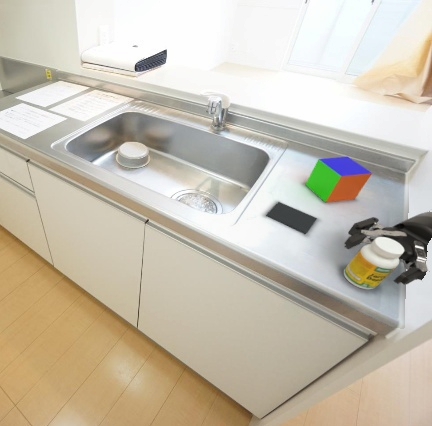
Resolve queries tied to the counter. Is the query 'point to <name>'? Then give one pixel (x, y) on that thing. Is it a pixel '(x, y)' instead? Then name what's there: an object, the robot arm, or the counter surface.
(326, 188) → the cube
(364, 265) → the supplement bottle
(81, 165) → the counter surface
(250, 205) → the counter surface
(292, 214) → the mat
